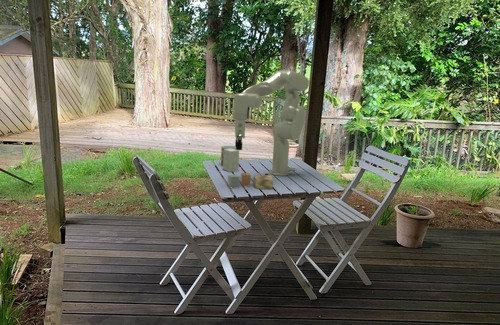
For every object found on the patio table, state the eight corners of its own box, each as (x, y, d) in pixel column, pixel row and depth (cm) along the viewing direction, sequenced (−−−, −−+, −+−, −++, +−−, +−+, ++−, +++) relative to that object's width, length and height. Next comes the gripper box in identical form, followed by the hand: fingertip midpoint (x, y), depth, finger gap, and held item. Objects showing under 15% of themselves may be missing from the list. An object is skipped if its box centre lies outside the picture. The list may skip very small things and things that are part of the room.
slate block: (235, 185, 202) (236, 174, 201) (238, 187, 198) (239, 176, 196) (228, 185, 200) (228, 174, 199) (230, 188, 196) (231, 176, 195)
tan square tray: (269, 184, 207) (270, 175, 206) (272, 188, 198) (272, 179, 197) (253, 183, 206) (253, 174, 205) (255, 188, 197) (256, 179, 196)
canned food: (219, 163, 252) (220, 145, 249) (236, 163, 254) (236, 145, 252) (222, 167, 241) (222, 148, 238) (239, 167, 243) (240, 149, 241)
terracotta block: (249, 183, 206) (249, 173, 205) (250, 185, 202) (250, 175, 200) (241, 183, 206) (241, 172, 204) (241, 185, 201) (242, 175, 200)
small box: (238, 171, 233) (239, 150, 230) (230, 172, 229) (231, 151, 226) (230, 168, 239) (231, 148, 236) (222, 169, 235) (223, 149, 232)
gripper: (248, 118, 192) (246, 151, 196) (246, 115, 209) (244, 145, 212) (233, 118, 191) (232, 150, 195) (232, 115, 208) (231, 145, 212)
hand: (238, 148), depth 204 cm, fingers open, 9 cm apart
